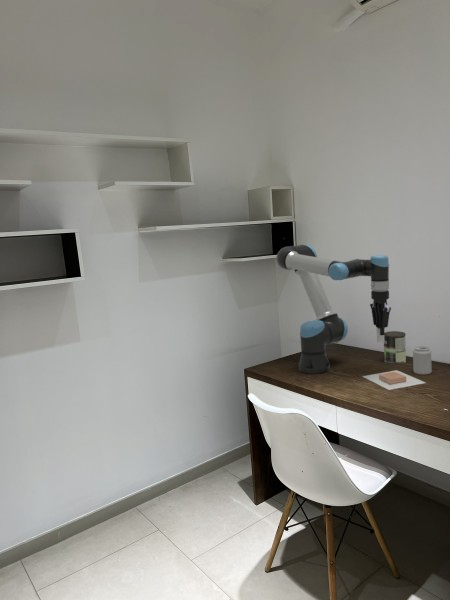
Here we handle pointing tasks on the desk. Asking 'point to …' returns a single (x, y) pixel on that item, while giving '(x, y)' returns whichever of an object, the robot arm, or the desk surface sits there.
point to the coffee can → (394, 347)
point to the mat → (409, 382)
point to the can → (422, 360)
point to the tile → (392, 377)
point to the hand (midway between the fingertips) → (380, 341)
